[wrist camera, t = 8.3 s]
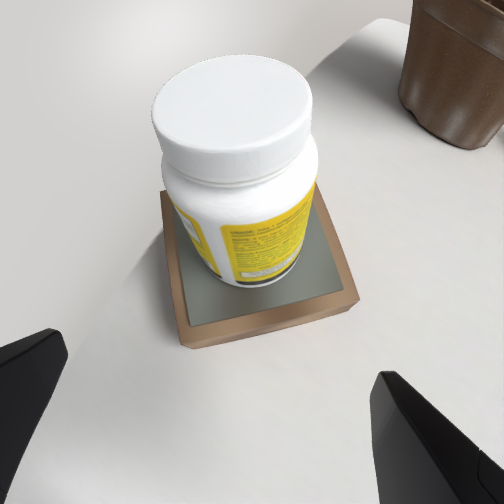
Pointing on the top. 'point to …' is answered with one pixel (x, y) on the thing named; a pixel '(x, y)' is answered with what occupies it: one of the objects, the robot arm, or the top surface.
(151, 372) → the top surface
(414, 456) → the robot arm
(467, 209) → the top surface
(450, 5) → the plant pot
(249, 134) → the supplement bottle
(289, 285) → the plinth
